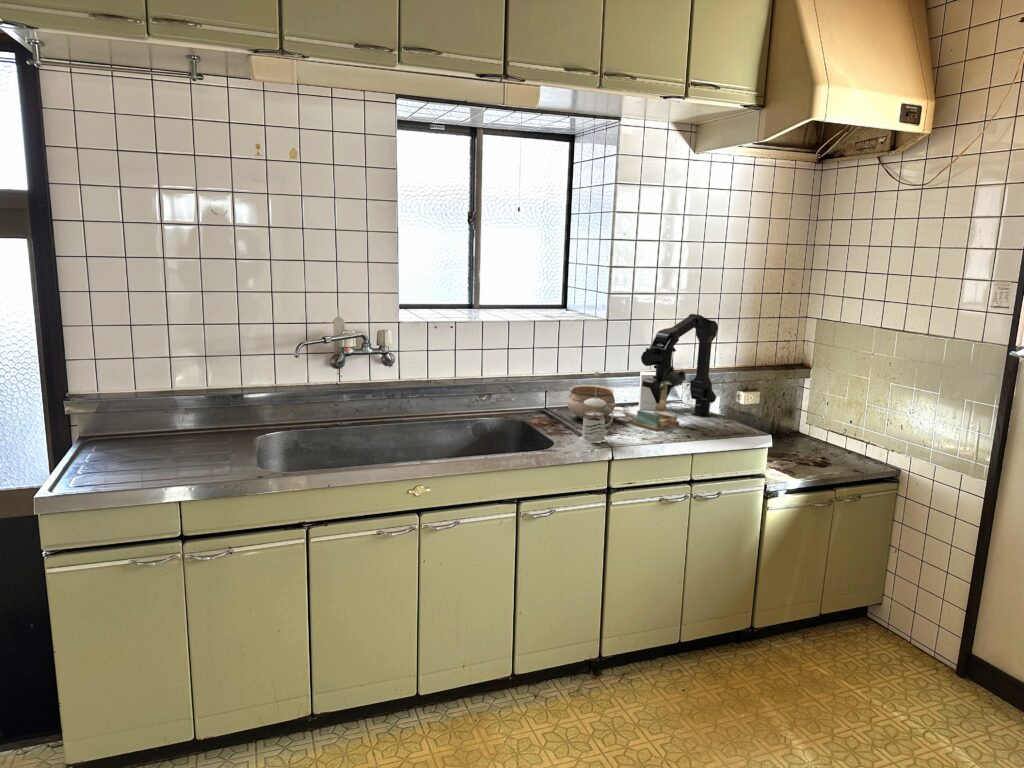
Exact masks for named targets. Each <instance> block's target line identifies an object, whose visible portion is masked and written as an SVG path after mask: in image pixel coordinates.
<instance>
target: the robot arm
mask: <svg viewBox="0 0 1024 768" xmlns="http://www.w3.org/2000/svg"><path fill="white" fill-rule="evenodd" d="M692 329H695V335H696V338H697V340H698V351H697V360H696V361H697V363H696V373H695V377H694V378H693V379H691V380H690V384H689V385H690V386H689V390H690V392H689V393H690V397H691V400H695V403H694V411H693V412H691V415H694V416H698V417H703V418H705V417H709V416H713V413H712V412H710V411H711V409H710V408H711V404H712V403H714V402H716V400H717V396H716V394H715V392H714V390H713V383H712V381H711V379H710V377H709V375H710V365H711V355H712V343H713V341H714V340H715V338H716V337H717V334H718V329H719V325H718V323H717V321H715V320H712V319H709V318H707V317H705V316H703V315H701V314H698V313H691V314H689V315H688V316H687V317H685V318H684V319H683V320H681V321H680V322H678V323H676V324H675V325H673V326H671V327H669V328H662V329H660V330H658V331H657V332H656V333H655V336H654V338H653V339H652V342H651V343H650V345H649V347H646V348H645V351H644V352H642V355H640V356H641V357H640V360H641V363H642V364H643V366H645V367H650V366H651V367H653V369H655V372H656V376H653V379H651V378H649V379H644V380H643V381H642V386H643V387H648V388H650V390H651V392H652V394H653V396H654V399H655V401H656V403H657V404H659V402H660V396H661V391H662V390H663V389H664V388H663V387H662V384H664V385H667V399H668V397H669V395H670V393H671V390H672V389H673V388H674V387H678V386H682V385H683V382H684V381H686V380H687V379H686V377H687V375H686V372H685V371H682V370H681V371H679V372H678V371H675V367H674V366H672V361H673V352H675V353H676V352H677V350H676V349H677V348H675V347H674V346H675V345H677V343H678V342H679V340H680V338H681V337H682V336H684V335H686V334H687V333H688V332H690V331H692Z"/></svg>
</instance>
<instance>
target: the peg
mask: <svg viewBox="0 0 1024 768" xmlns="http://www.w3.org/2000/svg"><path fill="white" fill-rule="evenodd" d="M662 387H663V388H664V389H663V390H662V391H661V396H660V402H659V404H657V403H656V407H655V410H654V411H655V412H660V413H662V412H666V411H667V410H666V409H667V399H668V398H667V385H664V384H662Z"/></svg>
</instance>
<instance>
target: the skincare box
mask: <svg viewBox="0 0 1024 768" xmlns="http://www.w3.org/2000/svg"><path fill="white" fill-rule="evenodd" d="M639 374H640V375H639V395H638V408H639V410H643V411H656V410H655V407H656V401H655V399H654V396H653V394H652V392H651V390H650V388H648V387H643V386H642V381H643V380H644V379H649V378H651V379H653V376H656V371H640V373H639Z"/></svg>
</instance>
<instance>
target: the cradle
mask: <svg viewBox="0 0 1024 768" xmlns="http://www.w3.org/2000/svg"><path fill="white" fill-rule="evenodd" d="M636 412H637V413H636V420H635V421H632V424H631V425H632V426H634V427H639V428H642V429H645V430H648V431H649V430H650V431H652V432H658V431H661V430H665V429H669V428H672V427H676V426H679V425H680V421H677V420H678V417H677V416H673V415H669V414H665V413H662V412H659V411H653V412H650V411H648V410H640V409H639V410H637V411H636Z"/></svg>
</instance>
